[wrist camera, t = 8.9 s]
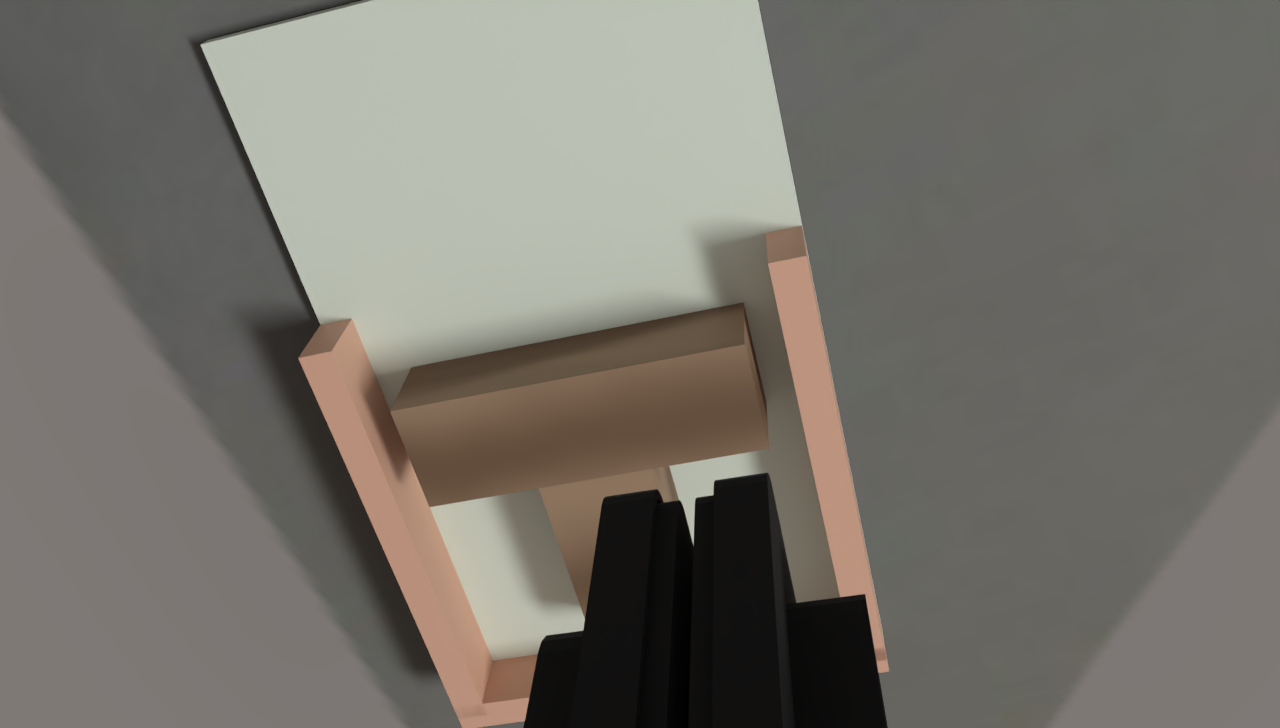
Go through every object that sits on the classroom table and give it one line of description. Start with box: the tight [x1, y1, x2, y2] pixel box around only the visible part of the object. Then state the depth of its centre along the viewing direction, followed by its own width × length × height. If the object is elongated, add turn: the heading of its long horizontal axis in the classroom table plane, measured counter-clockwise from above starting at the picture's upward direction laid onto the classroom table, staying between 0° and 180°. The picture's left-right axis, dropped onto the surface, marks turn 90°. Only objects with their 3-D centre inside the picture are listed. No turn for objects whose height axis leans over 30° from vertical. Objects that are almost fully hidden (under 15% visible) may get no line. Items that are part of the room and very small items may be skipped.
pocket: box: [298, 226, 889, 728], centre depth 42 cm, size 17×17×2 cm
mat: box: [201, 0, 884, 661], centre depth 41 cm, size 28×17×1 cm, turn 14°
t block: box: [390, 303, 769, 618], centre depth 41 cm, size 12×12×3 cm
